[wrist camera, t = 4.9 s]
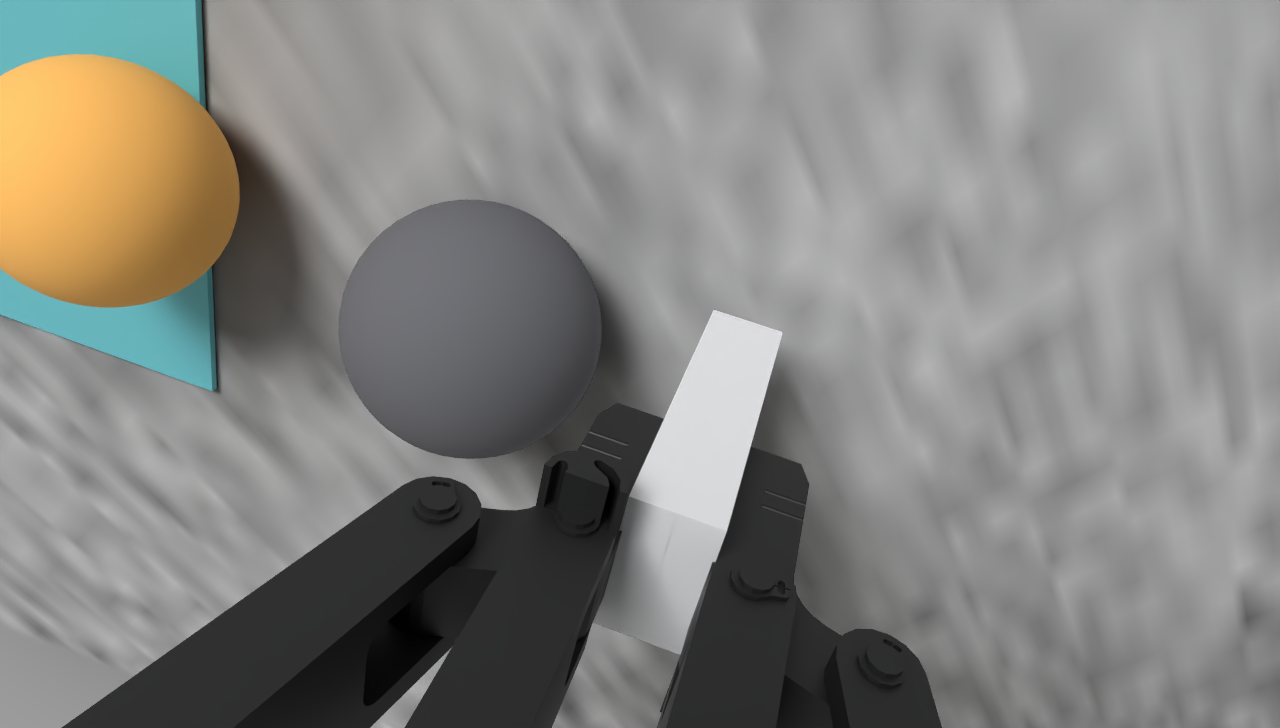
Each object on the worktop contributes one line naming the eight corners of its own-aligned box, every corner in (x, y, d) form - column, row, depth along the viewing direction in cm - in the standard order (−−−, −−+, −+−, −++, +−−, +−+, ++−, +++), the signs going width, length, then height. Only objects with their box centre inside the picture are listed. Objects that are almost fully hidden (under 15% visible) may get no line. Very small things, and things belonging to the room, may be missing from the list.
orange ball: (179, 129, 16) (-149, 63, 16) (189, 373, 19) (-88, 327, 18) (273, 58, 21) (24, 4, 20) (269, 263, 24) (51, 223, 23)
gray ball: (307, 269, 15) (351, 150, 19) (327, 513, 18) (361, 360, 22) (632, 287, 16) (601, 169, 20) (598, 514, 19) (579, 368, 23)
